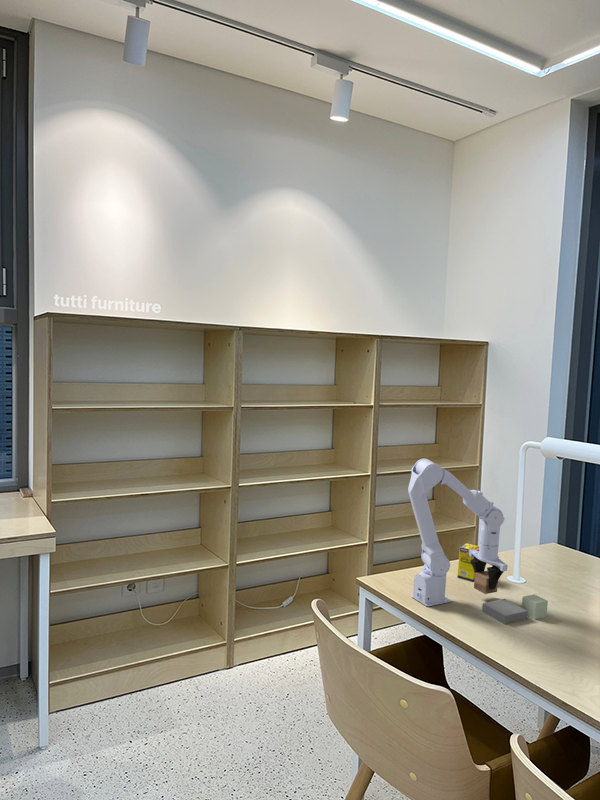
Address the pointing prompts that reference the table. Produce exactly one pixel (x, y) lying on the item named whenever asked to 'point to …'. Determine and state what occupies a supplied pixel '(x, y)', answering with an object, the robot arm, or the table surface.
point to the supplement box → (466, 562)
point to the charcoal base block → (504, 611)
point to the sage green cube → (535, 606)
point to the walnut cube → (483, 583)
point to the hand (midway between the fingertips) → (485, 585)
